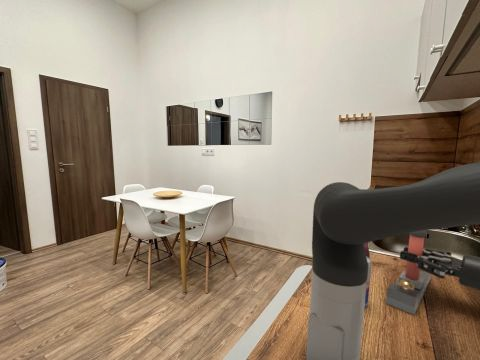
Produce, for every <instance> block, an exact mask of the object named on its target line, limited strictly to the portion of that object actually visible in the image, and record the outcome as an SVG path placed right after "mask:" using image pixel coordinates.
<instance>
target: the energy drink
mask: <svg viewBox="0 0 480 360" xmlns="http://www.w3.org/2000/svg"><path fill="white" fill-rule="evenodd" d="M366 258H367V262H368V277H367V287H366V296H365V307H364V309H366V308H367V307H368V306H369V296H370V287H371V278H372V277H371V276H372V268H373V267H372V266H373V264H372V260H371V259H372V258H371V257H370V258H368V257H367V256H366Z"/></svg>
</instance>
